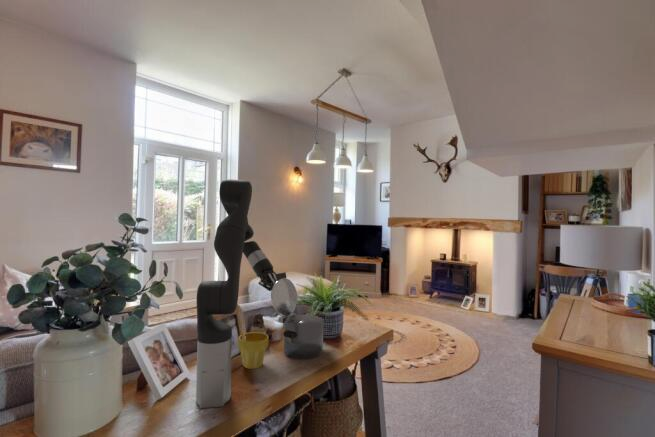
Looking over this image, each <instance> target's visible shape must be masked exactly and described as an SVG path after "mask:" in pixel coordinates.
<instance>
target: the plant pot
mask: <svg viewBox="0 0 655 437" xmlns="http://www.w3.org/2000/svg"><path fill="white" fill-rule="evenodd" d="M244 334H245V336H246V341H243V340H242V334H240V335H239V336H238V339H237V340H238V341H237V346H238V349H239V351H240V355H241V356H242V357H241V362H242V366H243V367H244V368H246V369H248V370H249V369H250V370H253V369H258V368H261V367H262V366H263V364H264V359H265V354H266V350H267V348H268V347H269V339H270V338H269V335H268V334H267V333H266V334H265V333H260V332H250V331H249V332H244Z"/></svg>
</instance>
